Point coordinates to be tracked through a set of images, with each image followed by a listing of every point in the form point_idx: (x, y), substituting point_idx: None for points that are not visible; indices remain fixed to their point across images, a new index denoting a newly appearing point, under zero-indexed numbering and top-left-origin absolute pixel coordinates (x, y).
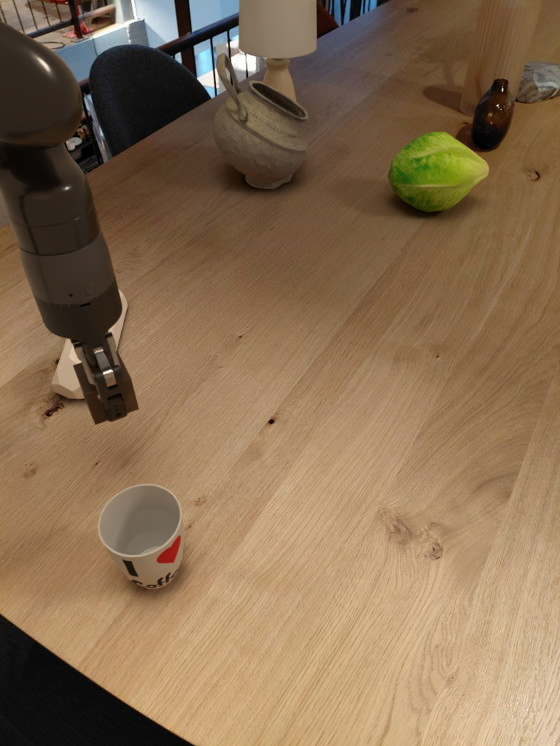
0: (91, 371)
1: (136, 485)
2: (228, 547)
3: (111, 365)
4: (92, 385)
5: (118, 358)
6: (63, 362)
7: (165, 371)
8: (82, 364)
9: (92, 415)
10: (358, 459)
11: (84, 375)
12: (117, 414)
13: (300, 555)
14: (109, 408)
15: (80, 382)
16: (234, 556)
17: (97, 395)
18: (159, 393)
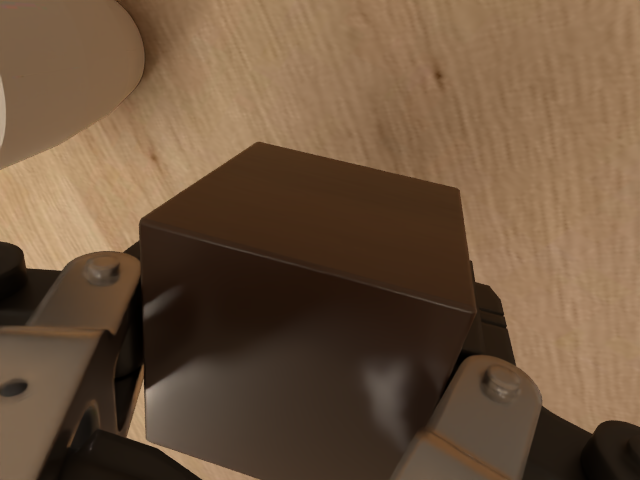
0: (86, 406)
1: (3, 118)
2: (85, 185)
3: (293, 444)
4: (190, 293)
5: None
6: None
7: (580, 374)
8: (8, 461)
9: (231, 160)
10: (143, 424)
11: (305, 308)
12: None
13: (33, 260)
14: (134, 248)
15: (258, 255)
16: (66, 182)
17: (95, 269)
18: (525, 322)
